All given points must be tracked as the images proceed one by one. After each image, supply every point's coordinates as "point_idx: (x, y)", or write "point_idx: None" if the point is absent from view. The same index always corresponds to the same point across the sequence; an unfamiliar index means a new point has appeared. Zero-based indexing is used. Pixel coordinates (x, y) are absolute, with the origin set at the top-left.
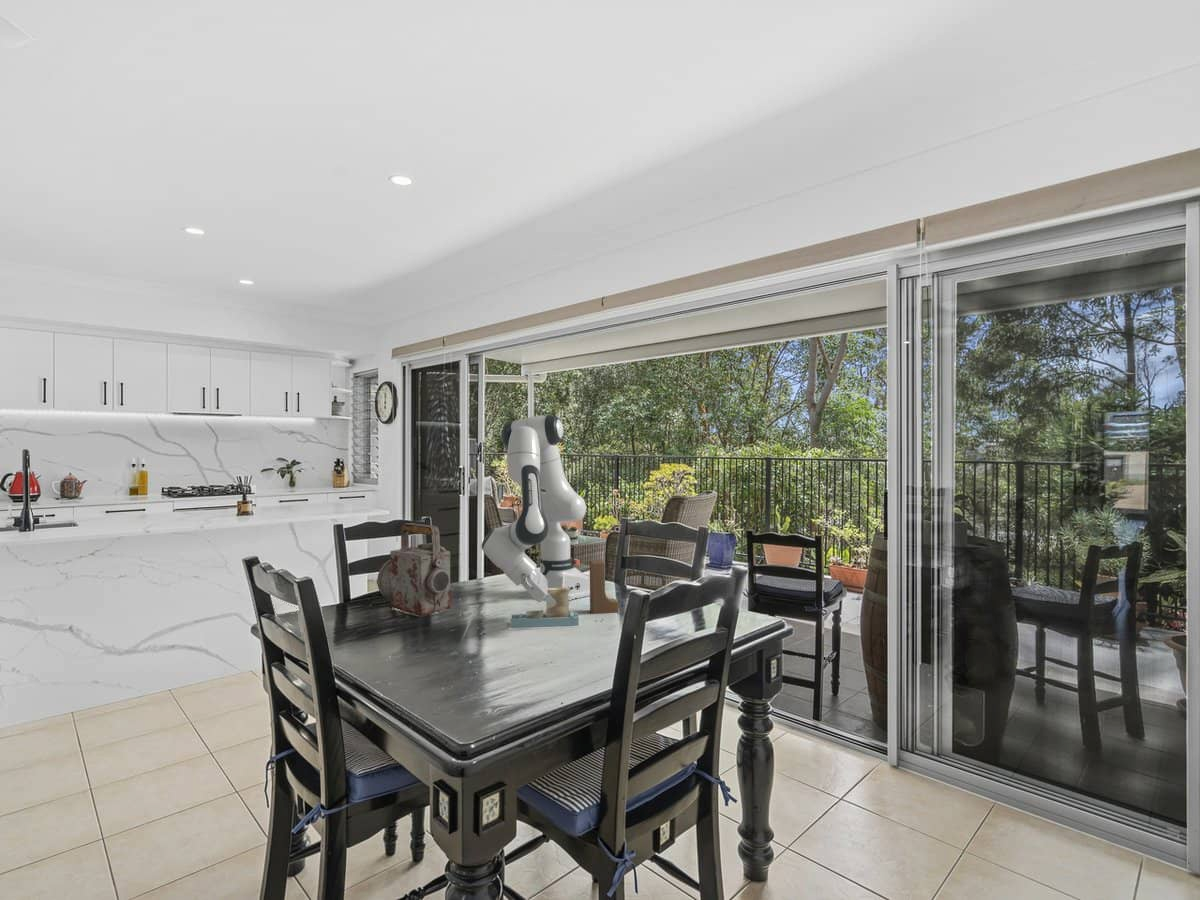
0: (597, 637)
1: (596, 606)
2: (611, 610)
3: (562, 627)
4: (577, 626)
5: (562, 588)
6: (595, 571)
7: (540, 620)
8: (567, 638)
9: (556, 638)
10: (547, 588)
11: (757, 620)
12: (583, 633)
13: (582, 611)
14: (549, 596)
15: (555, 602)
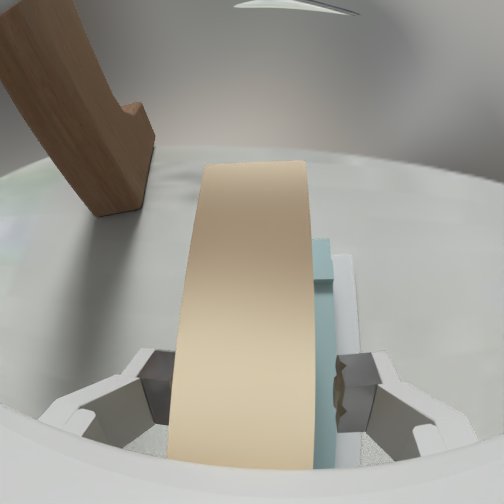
0: (435, 203)
1: (128, 166)
2: (146, 138)
3: (356, 345)
4: (339, 267)
5: (237, 225)
6: (58, 28)
7: None
8: (464, 318)
9: (467, 368)
10: (322, 470)
11: (269, 3)
12: (393, 250)
13: (60, 245)
14: (452, 412)
15: (386, 358)
